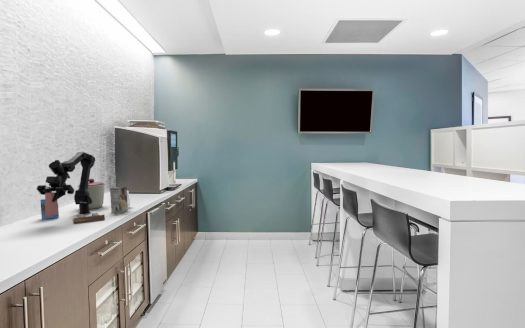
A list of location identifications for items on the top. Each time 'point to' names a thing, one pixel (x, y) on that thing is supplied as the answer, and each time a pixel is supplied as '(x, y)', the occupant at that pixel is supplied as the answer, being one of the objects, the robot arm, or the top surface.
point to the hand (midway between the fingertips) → (49, 201)
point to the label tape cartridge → (44, 211)
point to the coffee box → (118, 199)
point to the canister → (96, 193)
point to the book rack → (88, 218)
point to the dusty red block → (50, 204)
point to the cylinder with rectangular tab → (128, 199)
